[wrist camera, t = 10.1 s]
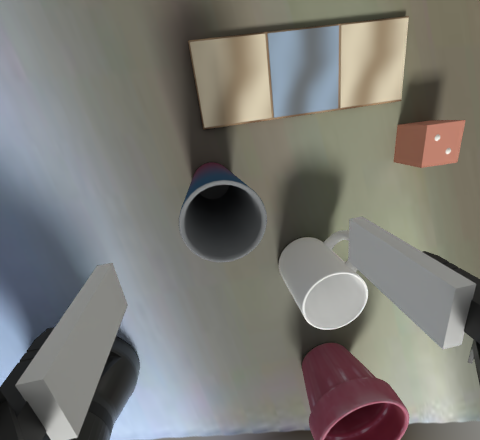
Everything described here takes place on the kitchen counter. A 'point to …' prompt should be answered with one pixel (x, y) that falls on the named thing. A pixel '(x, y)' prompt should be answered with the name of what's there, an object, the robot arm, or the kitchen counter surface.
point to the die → (429, 142)
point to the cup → (221, 215)
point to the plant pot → (349, 398)
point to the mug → (323, 281)
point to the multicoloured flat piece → (298, 71)
